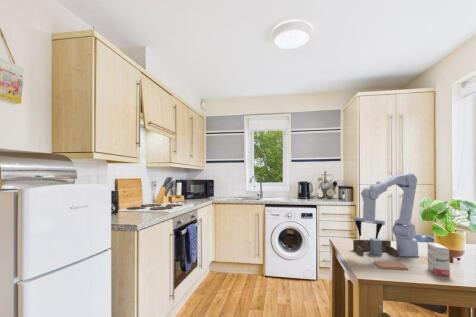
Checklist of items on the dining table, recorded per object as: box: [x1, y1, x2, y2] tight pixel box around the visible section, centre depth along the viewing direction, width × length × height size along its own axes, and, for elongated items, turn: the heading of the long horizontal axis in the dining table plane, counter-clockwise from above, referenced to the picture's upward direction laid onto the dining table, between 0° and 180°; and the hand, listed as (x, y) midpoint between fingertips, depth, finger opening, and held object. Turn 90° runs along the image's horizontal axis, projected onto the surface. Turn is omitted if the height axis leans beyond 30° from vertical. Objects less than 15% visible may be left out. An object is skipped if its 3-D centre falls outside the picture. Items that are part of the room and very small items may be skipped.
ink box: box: [426, 242, 451, 277], centre depth 115 cm, size 9×5×12 cm, turn 168°
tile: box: [372, 260, 409, 271], centre depth 122 cm, size 12×8×1 cm, turn 83°
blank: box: [369, 237, 383, 257], centre depth 140 cm, size 4×5×8 cm
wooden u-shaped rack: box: [352, 239, 398, 258], centre depth 141 cm, size 20×10×6 cm, turn 83°
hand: (368, 237), depth 133 cm, fingers open, 7 cm apart
